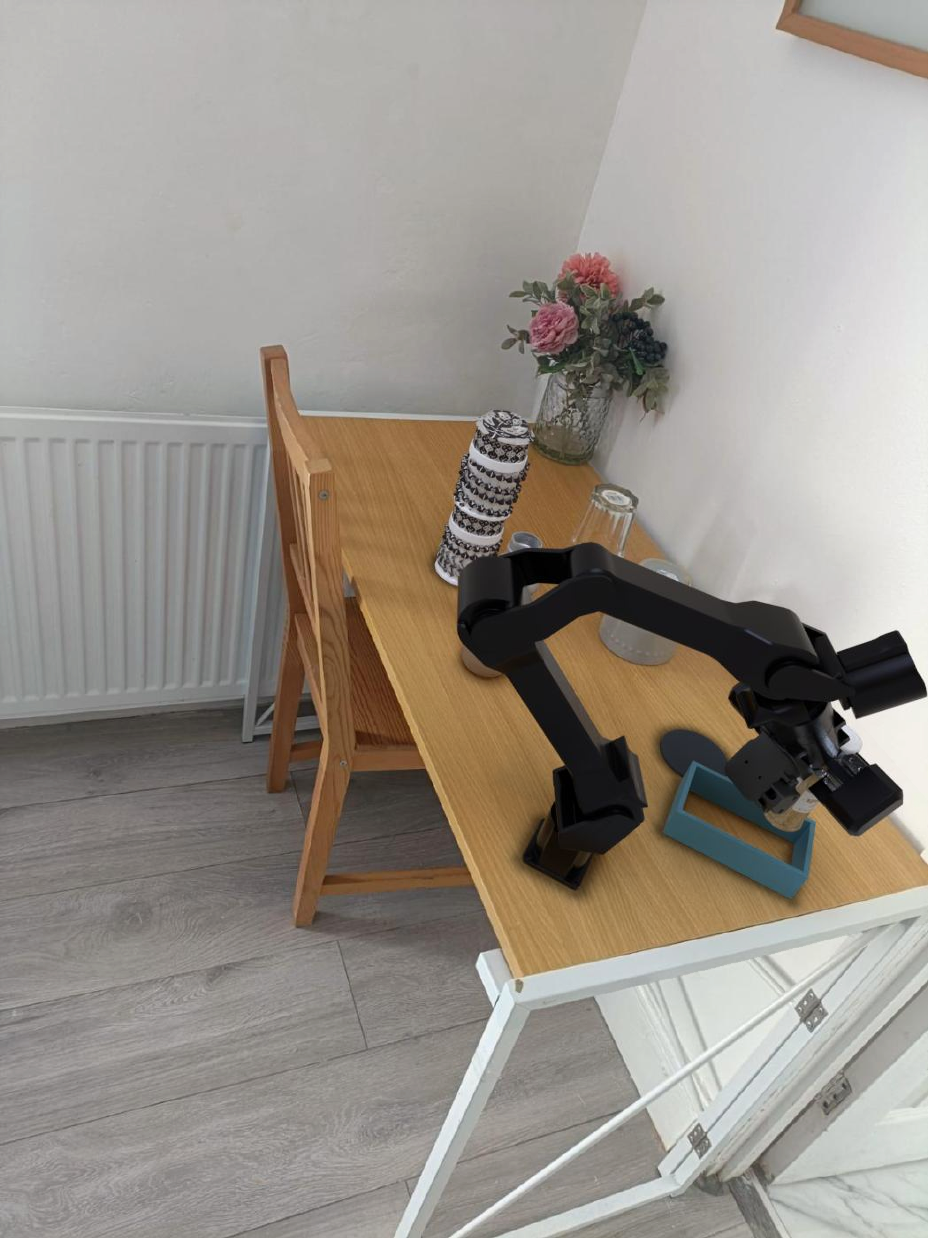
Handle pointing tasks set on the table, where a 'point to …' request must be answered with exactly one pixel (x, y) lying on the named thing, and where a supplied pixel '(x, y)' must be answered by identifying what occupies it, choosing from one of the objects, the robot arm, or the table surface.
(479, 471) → the white patterned cylinder
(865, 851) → the table surface
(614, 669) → the table surface
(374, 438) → the table surface
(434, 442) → the table surface
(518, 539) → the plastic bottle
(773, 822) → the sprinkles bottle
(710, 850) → the blue open rectangular frame
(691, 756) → the coaster
